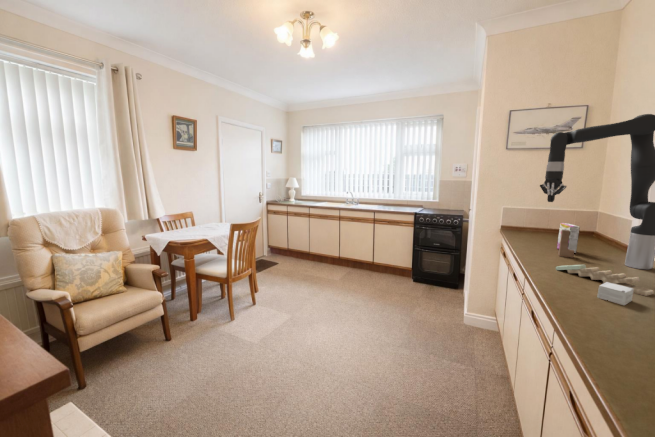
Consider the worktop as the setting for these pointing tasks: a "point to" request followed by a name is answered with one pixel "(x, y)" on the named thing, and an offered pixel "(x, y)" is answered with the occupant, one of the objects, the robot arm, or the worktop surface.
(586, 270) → the domino
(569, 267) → the domino
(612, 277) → the domino
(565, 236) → the wooden block
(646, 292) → the domino
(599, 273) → the domino
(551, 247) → the worktop surface
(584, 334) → the worktop surface
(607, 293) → the small box
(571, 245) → the candy bar box
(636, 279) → the domino
